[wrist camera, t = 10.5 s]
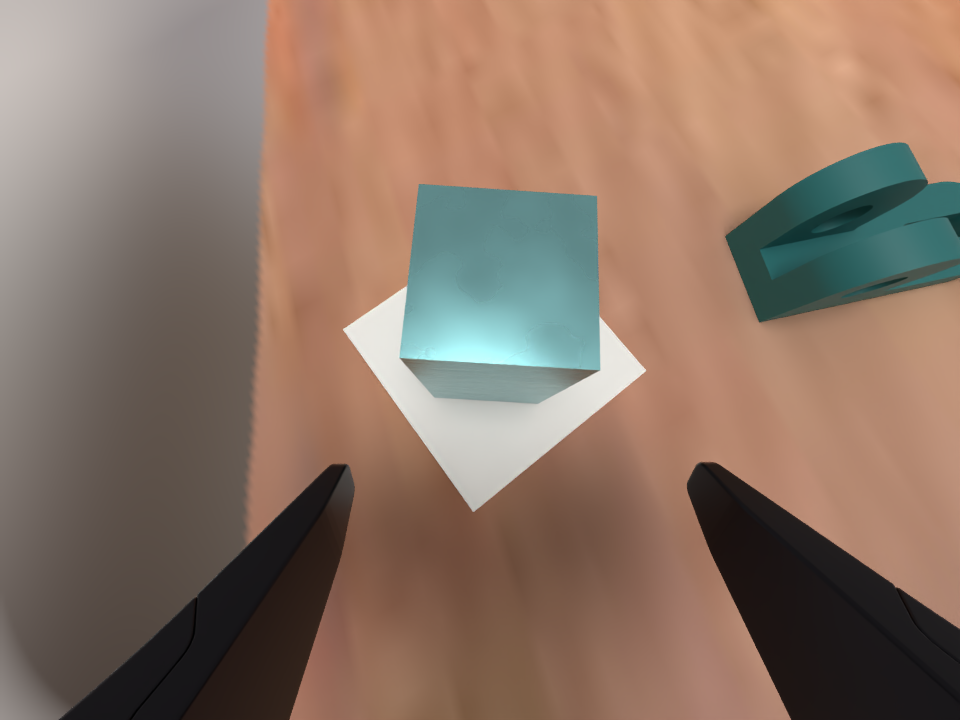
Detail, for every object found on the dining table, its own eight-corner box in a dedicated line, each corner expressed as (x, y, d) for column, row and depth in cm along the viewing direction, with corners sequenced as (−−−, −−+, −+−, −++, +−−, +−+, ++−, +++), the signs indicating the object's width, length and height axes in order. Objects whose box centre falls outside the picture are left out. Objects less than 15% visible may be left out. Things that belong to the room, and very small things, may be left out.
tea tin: (537, 403, 20) (600, 370, 10) (434, 397, 20) (399, 357, 10) (539, 306, 21) (596, 196, 12) (442, 300, 21) (418, 184, 12)
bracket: (757, 323, 24) (889, 272, 17) (723, 237, 26) (831, 154, 18) (981, 274, 26) (1202, 206, 18) (938, 195, 27) (1126, 100, 19)
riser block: (473, 501, 22) (473, 512, 19) (358, 342, 24) (343, 329, 21) (624, 378, 24) (646, 370, 21) (507, 239, 26) (511, 214, 23)
